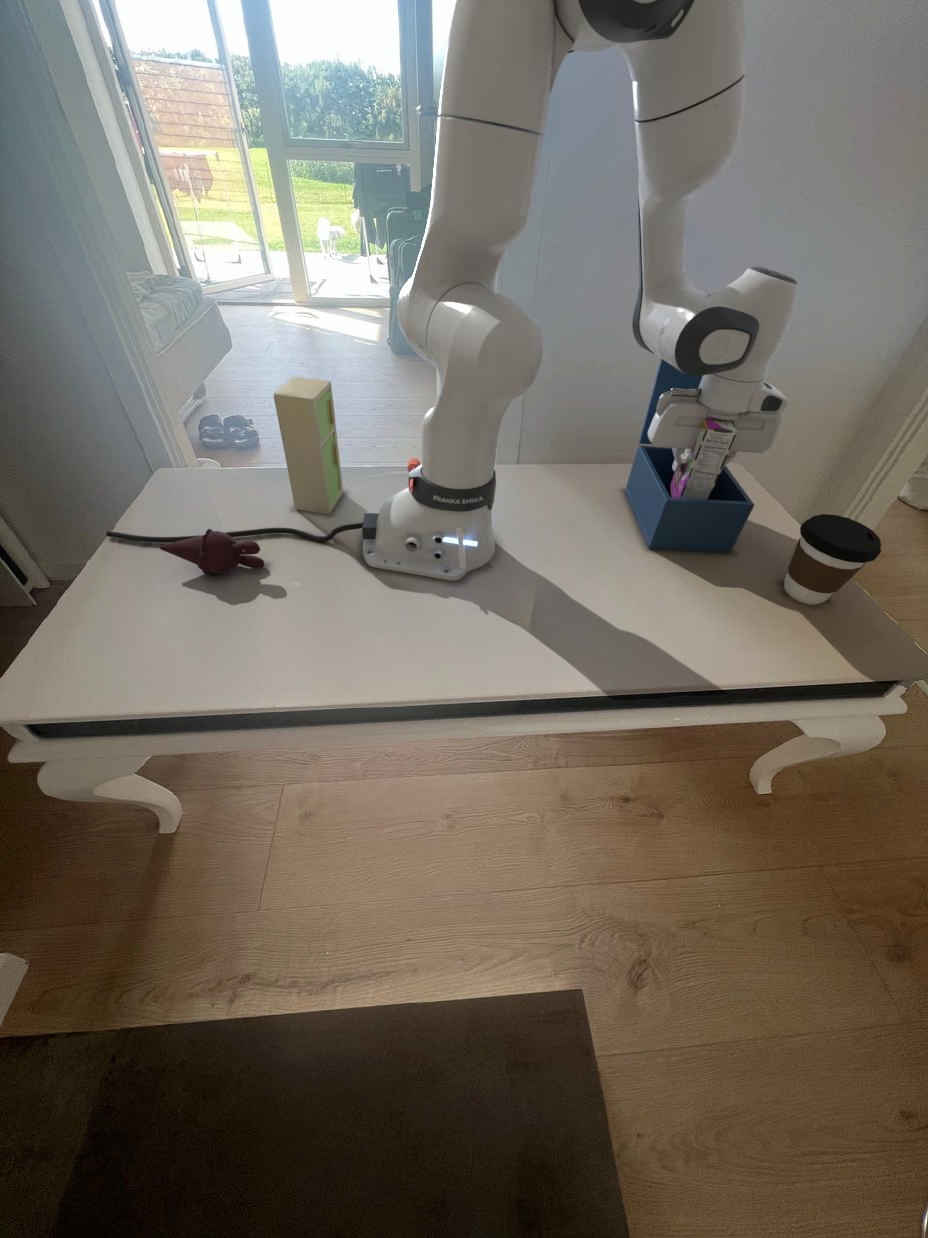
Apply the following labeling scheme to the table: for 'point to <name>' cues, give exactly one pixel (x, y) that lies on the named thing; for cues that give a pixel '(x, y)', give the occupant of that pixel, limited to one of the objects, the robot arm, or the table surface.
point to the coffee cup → (828, 557)
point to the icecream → (216, 552)
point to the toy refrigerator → (310, 443)
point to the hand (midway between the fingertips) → (695, 471)
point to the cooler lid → (663, 383)
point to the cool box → (684, 507)
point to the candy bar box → (704, 460)
